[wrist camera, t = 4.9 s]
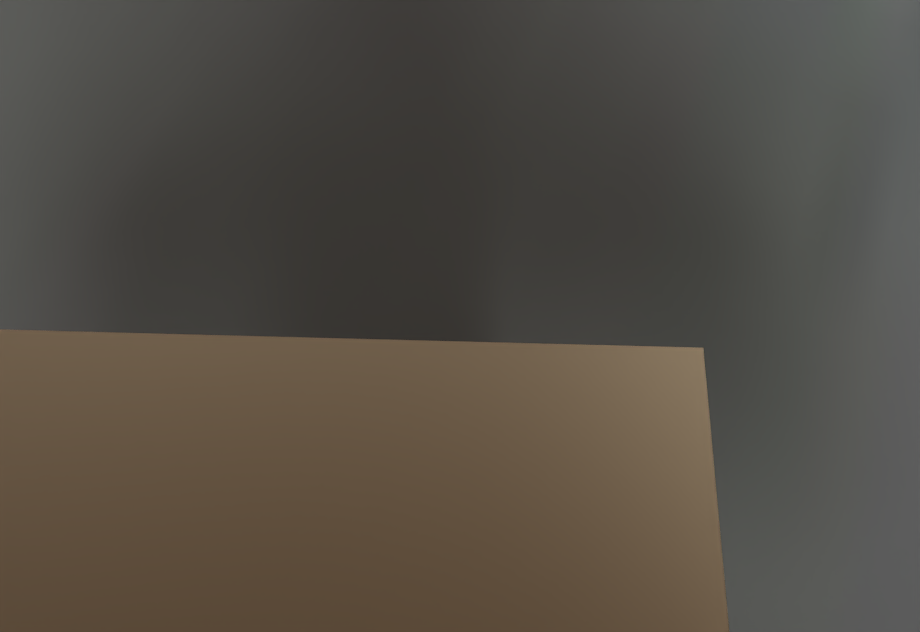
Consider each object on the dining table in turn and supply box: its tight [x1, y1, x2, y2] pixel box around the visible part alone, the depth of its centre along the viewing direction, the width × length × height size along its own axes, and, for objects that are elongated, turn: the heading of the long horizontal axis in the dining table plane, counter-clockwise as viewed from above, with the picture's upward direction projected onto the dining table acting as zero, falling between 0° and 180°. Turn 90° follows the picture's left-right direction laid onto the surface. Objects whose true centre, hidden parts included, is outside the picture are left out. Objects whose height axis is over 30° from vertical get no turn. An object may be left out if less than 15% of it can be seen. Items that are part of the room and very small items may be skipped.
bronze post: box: [0, 330, 729, 632], centre depth 9 cm, size 4×4×13 cm
